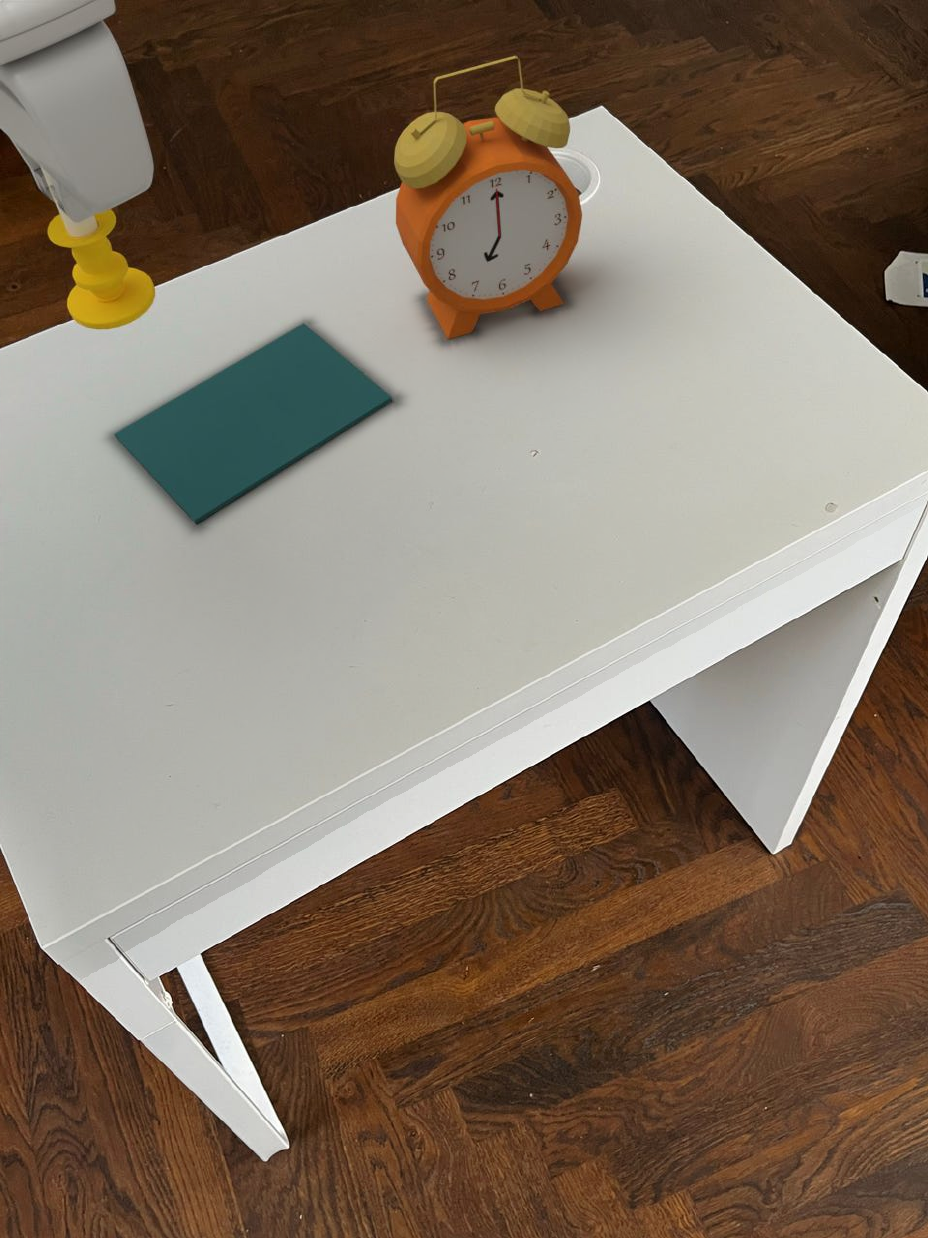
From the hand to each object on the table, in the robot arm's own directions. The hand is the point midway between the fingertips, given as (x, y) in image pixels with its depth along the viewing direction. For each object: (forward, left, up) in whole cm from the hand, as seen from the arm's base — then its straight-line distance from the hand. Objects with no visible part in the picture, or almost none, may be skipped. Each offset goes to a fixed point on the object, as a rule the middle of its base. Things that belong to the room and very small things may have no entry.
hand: (71, 202), depth 64 cm
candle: (0, 0, -7) cm, 7 cm away
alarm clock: (+30, +1, -26) cm, 39 cm away
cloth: (+8, +4, -25) cm, 27 cm away
